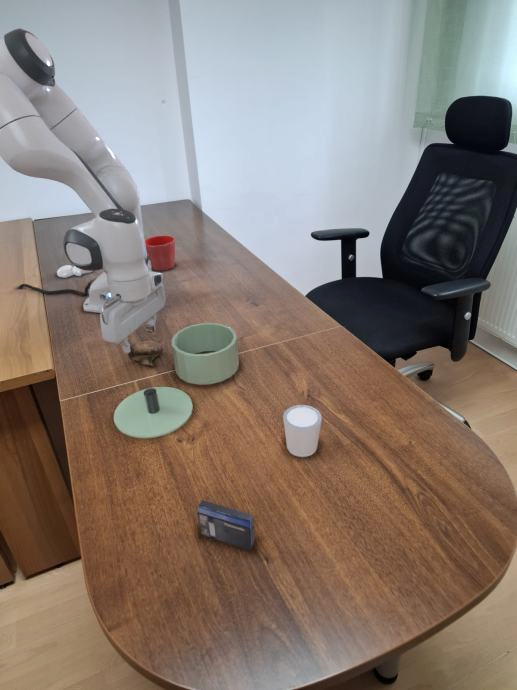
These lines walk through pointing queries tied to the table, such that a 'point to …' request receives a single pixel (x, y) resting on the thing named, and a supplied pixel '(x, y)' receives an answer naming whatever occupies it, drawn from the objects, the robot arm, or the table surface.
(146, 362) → the mushroom
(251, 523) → the mini dv tape
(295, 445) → the white cup
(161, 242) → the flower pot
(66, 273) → the astronaut figurine
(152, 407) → the lid
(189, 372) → the pot
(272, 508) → the table surface
